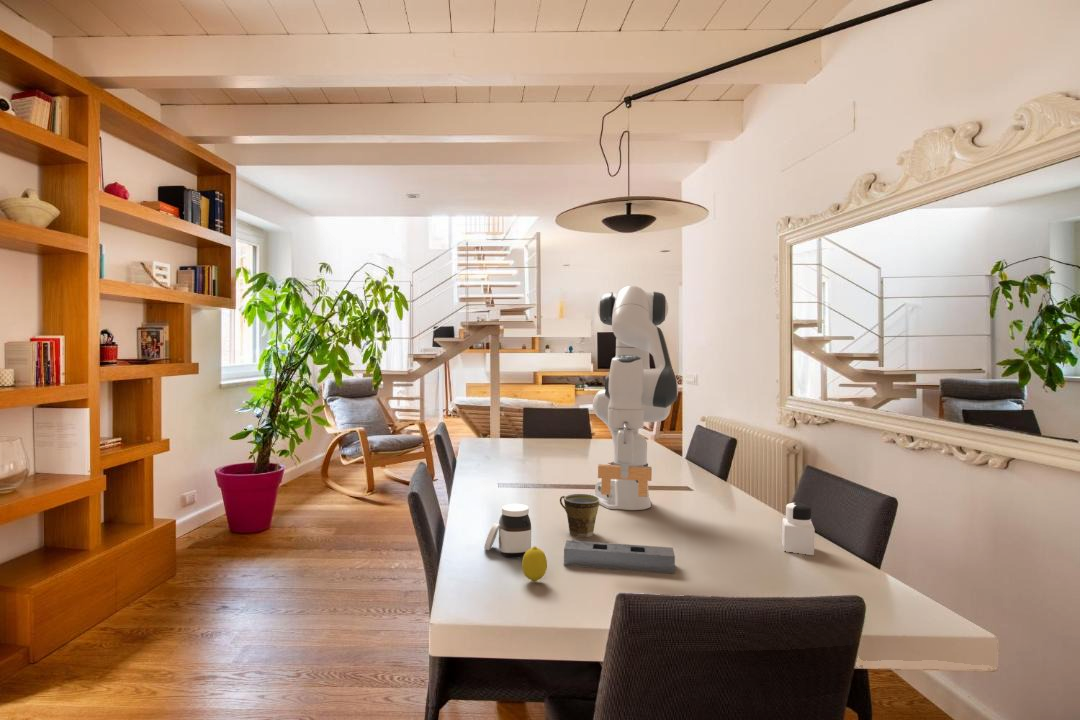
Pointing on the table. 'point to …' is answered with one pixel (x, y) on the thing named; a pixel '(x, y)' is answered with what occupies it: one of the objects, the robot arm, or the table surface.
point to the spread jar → (512, 531)
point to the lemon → (534, 564)
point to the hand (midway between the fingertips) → (624, 476)
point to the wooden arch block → (634, 473)
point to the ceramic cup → (581, 513)
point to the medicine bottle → (798, 529)
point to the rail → (619, 556)
